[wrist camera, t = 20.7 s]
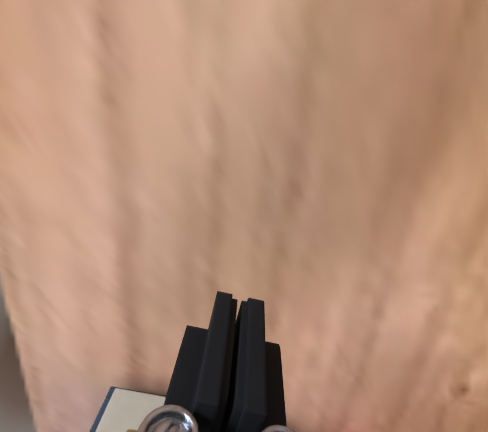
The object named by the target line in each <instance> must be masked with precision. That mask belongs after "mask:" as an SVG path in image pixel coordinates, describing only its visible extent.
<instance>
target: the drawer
mask: <svg viewBox="0 0 488 432" xmlns="http://www.w3.org/2000/svg"><path fill="white" fill-rule="evenodd" d="M165 398H166V397H163V396H157V395H151V394H146V393H140V392H135V391H129V390H124V389H118V388H115V390H114V392H113V394H112V396H111V399H110V401H109V403H108V405H107V407H106V410H105V412H104V414H103V416H102V418H101V420H100V423H99V425H98V427H97V429H96V431H95V432H137V430H138V428H139V426H140V424H141V423H142V421H143V420H144V419H145V417H146V416H147V415H148V414H149V413H150V412H151V411H153V410H154V409H156V408H158V407H160V406H163V405H164V402H165Z"/></svg>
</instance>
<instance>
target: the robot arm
mask: <svg viewBox="0 0 488 432" xmlns="http://www.w3.org/2000/svg"><path fill="white" fill-rule="evenodd" d="M236 311H237V300H236V299H232V294H228V293H224V292H219V291H217V295H216V299H215V303H214V308H213V312H212V316H211V320H210V324H209V329H203V328H198V327H193V326H188V325H187V327H186V330H185V334H184V337H183V340H182V344H181V347H180V351H179V354H178V357H177V361H176V364H175V368H174V371H173V374H172V378H171V381H170V385H169V388H168V392H167V395H166V398H165V402H164V405H163V406H160V407H158V408H156V409H154V410H153V411H151V412H150V413H149V414H148V415H147V416H146V417H145V419H144V420H143V421H142V423H141V424H140V426H139V428H138V430H137V432H295V431H294V430H292V429H290V428H288V427H287V426H286V414H285V401H284V389H283V376H282V364H281V351H280V346H279V344H275V343H271V342H266V341H265V314H264V301H261V300H257V299H252V298H248V300H247V302H246V301H242V302H241V305H240V309H239V312H238V316H237V319H236ZM235 322H236V323H235Z"/></svg>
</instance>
